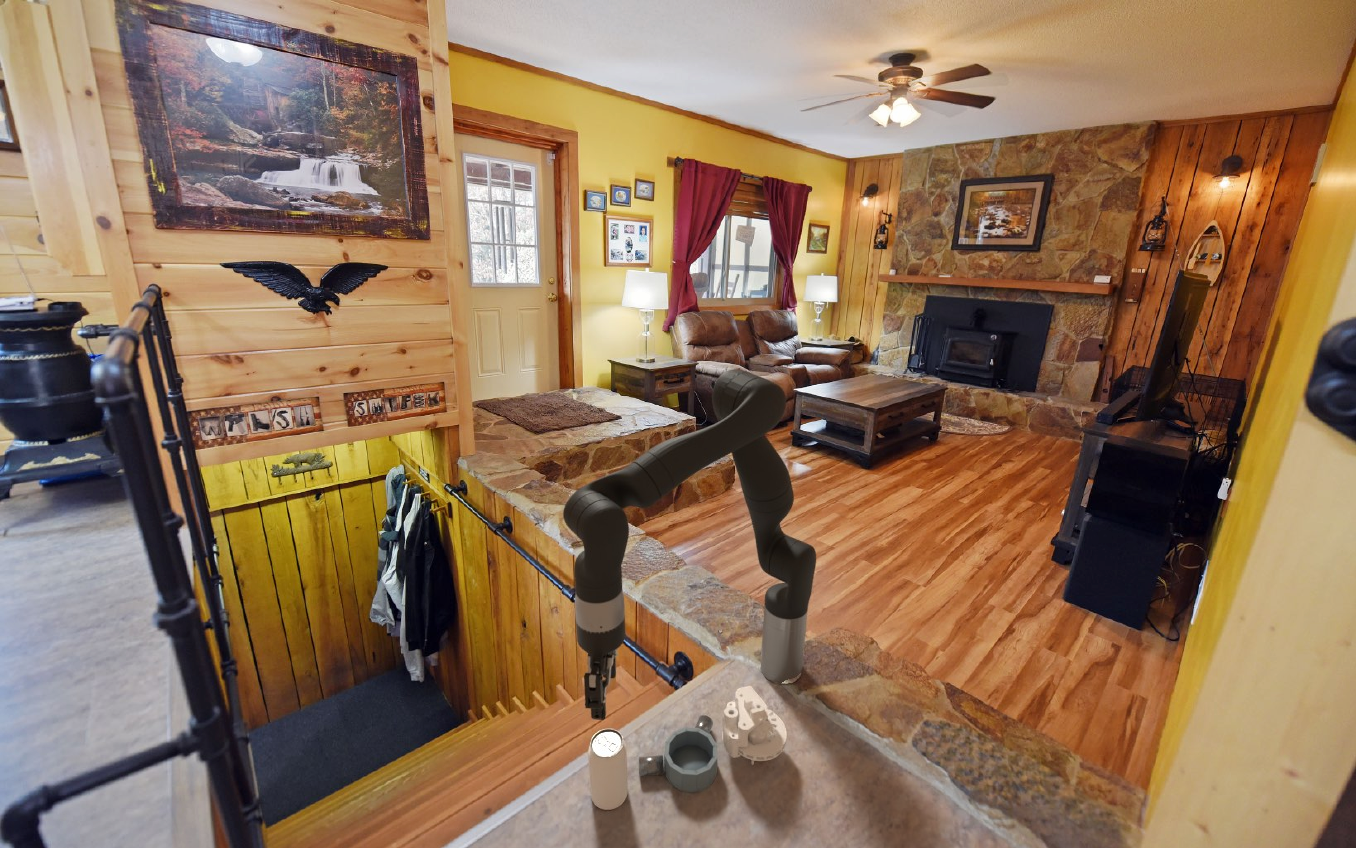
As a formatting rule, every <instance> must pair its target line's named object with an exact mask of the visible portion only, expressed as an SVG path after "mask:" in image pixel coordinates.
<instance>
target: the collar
mask: <svg viewBox="0 0 1356 848" xmlns="http://www.w3.org/2000/svg"><path fill="white" fill-rule="evenodd" d="M663 752H664V753H663V764H664V775H665V777H666V779H667V782H668V783H669V784H670V785H671V786H672V787H673V788H674V789H676V790H678V791H680V792H683V793H685V794H686V793H687V794H696V793H701V792H703V791H705V790H706V789H708V788H709V787H710V786H711V785H712V784H713V783H714V781H715V779H716V777H717V773H718V744H717V742H716V740H714V738H713V736H712V734H711V733H710V734H709V733H707V732H705V731H703V730H702V729H700V728H695V727H688V726H687V727H686V726H685V727H683V728H680V729H678V730H675V731H673V732H672V733H671V735H670V736H669V737H668V739H667V740H666V741H665V743H664V751H663Z"/></svg>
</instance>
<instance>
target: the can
mask: <svg viewBox="0 0 1356 848" xmlns="http://www.w3.org/2000/svg"><path fill="white" fill-rule="evenodd" d="M587 755H588V771H589V773H588V774H589V784H590V797H591V801H592V803H593V804H594V805H595V806H596V807H598V808H599V809H601V810H604V811H605V810H606V811H608V810H609V811H610V810H615V809H617V808H619V807H620V806H621V805H622V804H623V803H624V802H626V799H627V796H628V793H629V782H628V777H629V776H628V754H627V745H626V741H625V740H624V736H623V735H622V733H621V732H620V731H618V730H617V729H615V728H603V729H601V730H600V729H599V731H597V732H596V733H595V734H594V735H593V736H592V737H591V740H590V744H589V746H588V753H587Z"/></svg>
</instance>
